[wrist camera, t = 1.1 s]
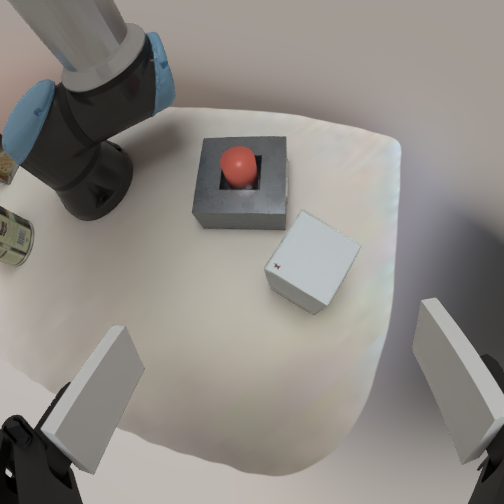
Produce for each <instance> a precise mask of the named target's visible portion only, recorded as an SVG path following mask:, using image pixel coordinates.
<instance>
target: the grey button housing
mask: <svg viewBox="0 0 504 504" xmlns="http://www.w3.org/2000/svg"><path fill="white" fill-rule="evenodd" d="M235 146H243V147H247V148H249V149H250V150H251V151H252V152H253V153H254V156H255V161H256V166H257V171H258V177H259V180H258V184H257V185H256V187H255V188H254V189H253V190H232V189H230V187H229V186H228V183H227V181H226V178H225V175H224V173H223V170H222V168H221V165H220V159H221V157H222V155H223V153H224V152H225V151H226V150H228V149H230V148H232V147H235ZM287 193H288V159H287V147H286V137H275V136H267V137H225V138H205V139H204V140H203V146H202V151H201V157H200V163H199V169H198V175H197V182H196V188H195V195H194V202H193V209H192V214H193V215H194V216H195V218H196V219H197V220H198V222H199V223H200V224H201V226H202V227H203V228H208V229H265V230H285V229H286V204H287Z"/></svg>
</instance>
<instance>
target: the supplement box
mask: <svg viewBox="0 0 504 504" xmlns="http://www.w3.org/2000/svg"><path fill="white" fill-rule="evenodd" d="M360 248H361V244H359V243H358V242H356V241H354V240H353V239H351V238H349V237H347V236H346V235H344V234H342V233H341V232H339V231H337V230H336V229H334V228H332V227H331V226H329V225H328V224H326V223H324V222H323V221H321V220H319V219H318V218H316V217H314V216H313V215H311V214H309V213H308V212H306V211H304V210H301V211H300V213H299V214H298V216H297V218H296V219H295V221H294V222H293V224H292V225H291V227H290V229H289V230H288V232H287V233H286V235H285V236H284V238H283V239H282V241H281V242H280V244H279V246H278V247H277V249H276V251H275V252H274V254H273V255H272V257H271V258H270V260H269V261H268V263H267V264H266V266H265V267H264V270H265V273H266V277H267V280H268V283H269V286H270V288H271V289H273V290H274V291H276V292H277V293H279V294H281V295H282V296H284V297H285V298H287V299H288V300H290V301H292V302H293V303H295V304H297V305H298V306H300V307H301V308H303V309H305V310H306V311H308V312H310V313H311V314H313V315H314V314H316V313H317V312H319V311H320V310H322V309H323V308H325V307H326V306H328V305H329V303H330V302H331V300H332V299H333V297H334V295H335V294H336V292H337V290H338V289H339V287H340V285H341V284H342V282H343V280H344V278H345V276H346V275H347V273H348V271H349V269H350V267H351V265H352V264H353V262H354V260H355V258H356V256H357V254H358V252H359V250H360Z"/></svg>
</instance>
